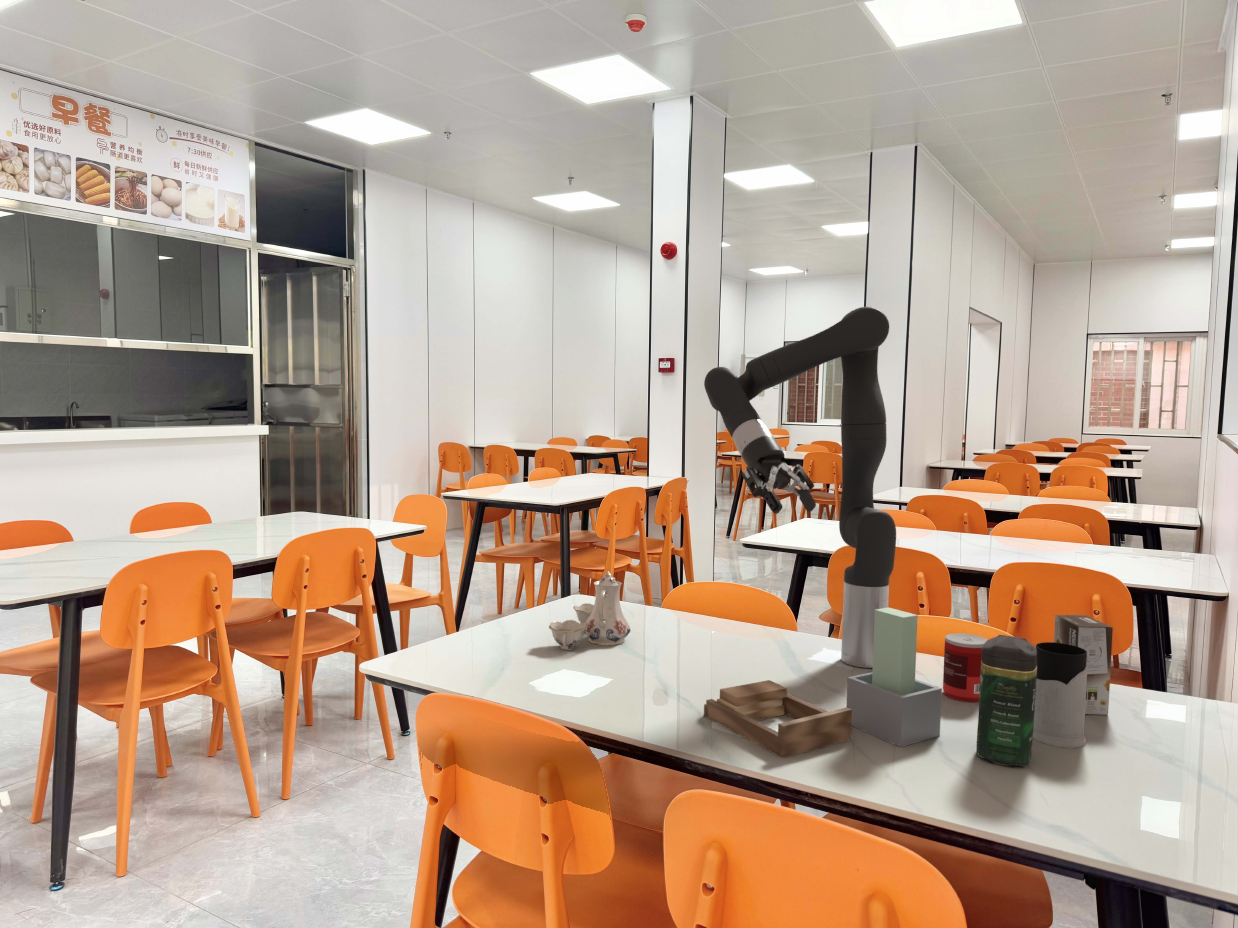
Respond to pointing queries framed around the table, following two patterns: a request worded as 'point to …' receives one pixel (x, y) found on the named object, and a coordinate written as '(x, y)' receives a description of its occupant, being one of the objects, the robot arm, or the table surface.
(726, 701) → the offcut stack
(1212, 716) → the table surface
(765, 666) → the table surface
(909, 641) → the tall mint green block
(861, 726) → the grey holder
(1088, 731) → the table surface
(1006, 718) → the coffee jar
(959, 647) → the canned food
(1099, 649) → the coffee box
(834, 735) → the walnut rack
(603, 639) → the chinaware
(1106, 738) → the table surface
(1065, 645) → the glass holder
